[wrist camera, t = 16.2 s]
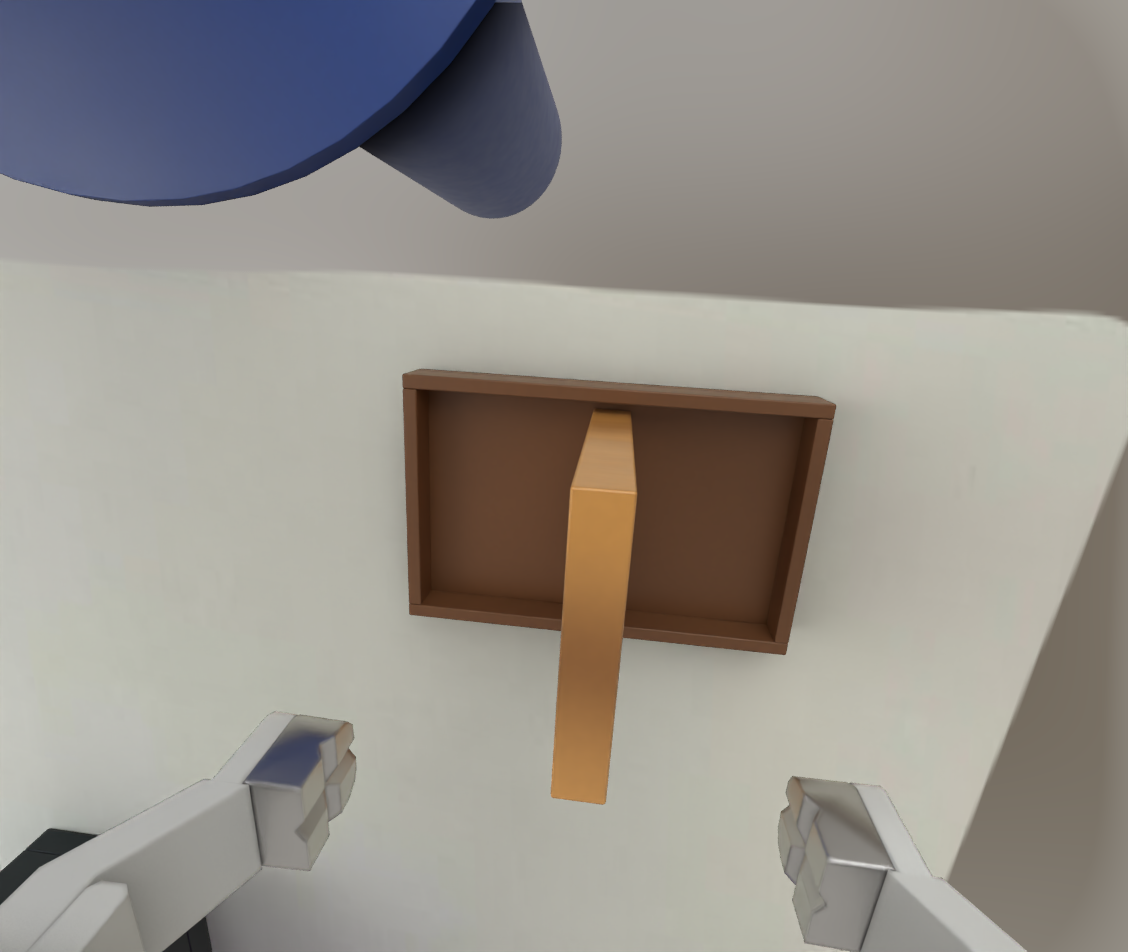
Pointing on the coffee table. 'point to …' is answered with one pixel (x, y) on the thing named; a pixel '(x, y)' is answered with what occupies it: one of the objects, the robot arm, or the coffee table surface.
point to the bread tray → (663, 510)
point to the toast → (594, 607)
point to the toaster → (188, 948)
